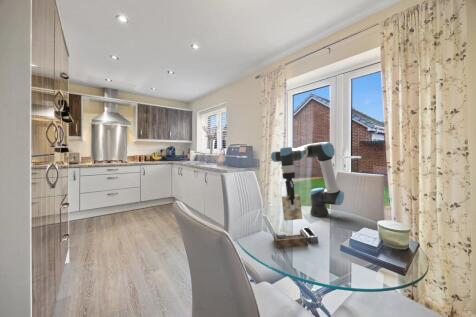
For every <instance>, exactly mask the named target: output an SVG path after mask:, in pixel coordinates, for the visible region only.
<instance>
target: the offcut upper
mask: <svg viewBox="0 0 476 317" xmlns="http://www.w3.org/2000/svg"><path fill="white" fill-rule="evenodd" d="M275 234H276V237H277V238H285V237H286V236H287V233H286V232H285V231H278V232H275Z"/></svg>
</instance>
